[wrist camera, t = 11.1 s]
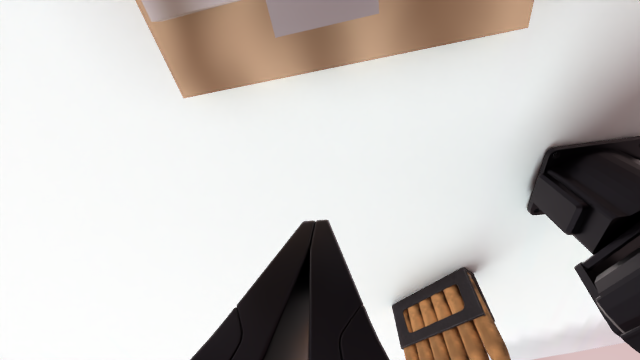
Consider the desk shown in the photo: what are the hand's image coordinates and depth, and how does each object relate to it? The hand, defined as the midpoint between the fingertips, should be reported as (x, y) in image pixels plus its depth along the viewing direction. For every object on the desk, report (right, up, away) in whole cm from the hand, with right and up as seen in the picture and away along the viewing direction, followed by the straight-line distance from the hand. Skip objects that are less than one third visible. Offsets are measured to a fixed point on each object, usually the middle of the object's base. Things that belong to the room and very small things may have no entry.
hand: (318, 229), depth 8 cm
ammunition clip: (+13, -12, +22) cm, 28 cm away
